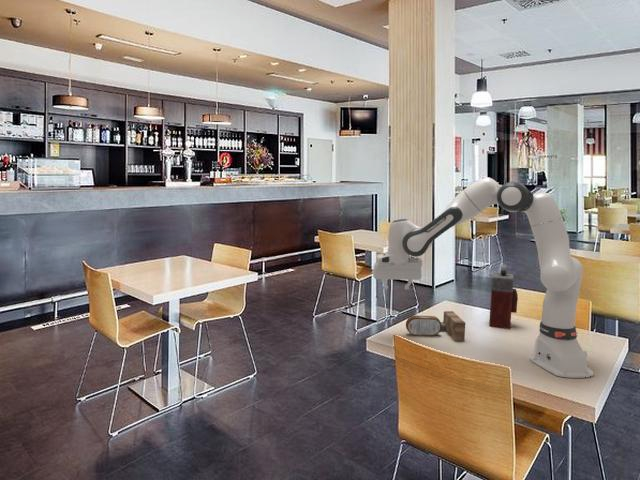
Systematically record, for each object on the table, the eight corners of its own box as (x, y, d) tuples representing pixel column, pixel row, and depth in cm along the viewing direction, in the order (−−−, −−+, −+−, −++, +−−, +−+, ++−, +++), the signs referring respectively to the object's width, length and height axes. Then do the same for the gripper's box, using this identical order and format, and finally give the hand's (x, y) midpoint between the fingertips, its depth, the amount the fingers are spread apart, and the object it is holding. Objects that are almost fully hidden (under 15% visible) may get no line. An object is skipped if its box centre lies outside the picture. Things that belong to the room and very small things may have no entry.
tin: (440, 334, 210) (441, 315, 208) (441, 336, 206) (442, 317, 205) (405, 333, 210) (406, 314, 209) (406, 336, 207) (407, 316, 206)
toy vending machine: (515, 329, 216) (520, 268, 212) (489, 326, 220) (493, 266, 216) (515, 323, 225) (520, 264, 220) (490, 320, 229) (494, 262, 224)
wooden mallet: (464, 341, 201) (465, 322, 200) (419, 341, 200) (419, 323, 199) (451, 328, 217) (452, 311, 216) (409, 328, 216) (410, 311, 215)
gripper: (420, 256, 208) (418, 287, 210) (373, 255, 206) (371, 287, 209) (424, 259, 201) (422, 291, 204) (375, 258, 200) (374, 291, 202)
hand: (396, 289), depth 206 cm, fingers open, 7 cm apart
